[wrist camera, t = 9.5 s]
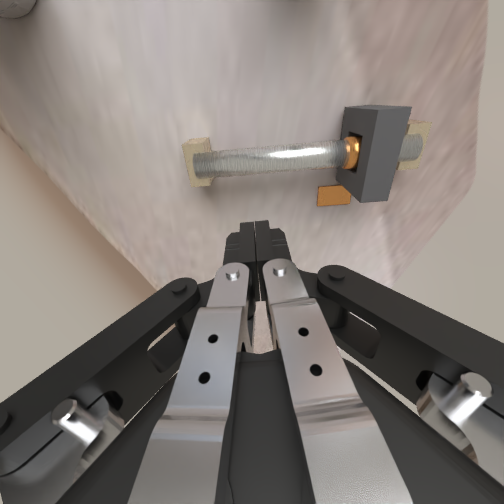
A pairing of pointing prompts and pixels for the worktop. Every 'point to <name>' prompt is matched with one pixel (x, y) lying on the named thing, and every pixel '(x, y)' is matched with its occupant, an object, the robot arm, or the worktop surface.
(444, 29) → the worktop surface
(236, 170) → the pipe
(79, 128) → the worktop surface
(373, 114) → the collar
